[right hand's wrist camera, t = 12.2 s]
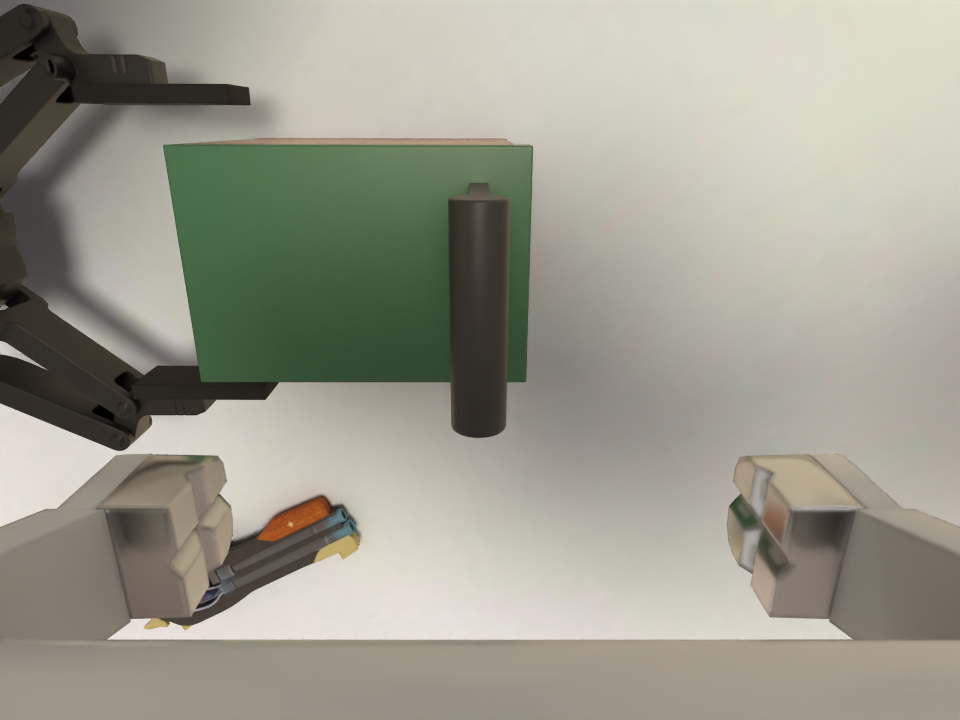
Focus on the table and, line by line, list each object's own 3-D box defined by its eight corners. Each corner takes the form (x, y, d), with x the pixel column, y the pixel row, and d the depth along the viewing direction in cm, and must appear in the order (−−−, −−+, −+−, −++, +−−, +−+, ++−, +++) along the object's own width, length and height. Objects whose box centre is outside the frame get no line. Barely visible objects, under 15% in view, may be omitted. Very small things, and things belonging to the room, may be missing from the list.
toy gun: (24, 553, 41) (112, 674, 43) (282, 425, 39) (361, 557, 41) (52, 533, 43) (133, 648, 45) (294, 412, 42) (368, 536, 44)
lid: (530, 144, 25) (556, 154, 17) (524, 372, 28) (543, 472, 20) (176, 144, 25) (30, 153, 17) (211, 372, 28) (103, 472, 20)
